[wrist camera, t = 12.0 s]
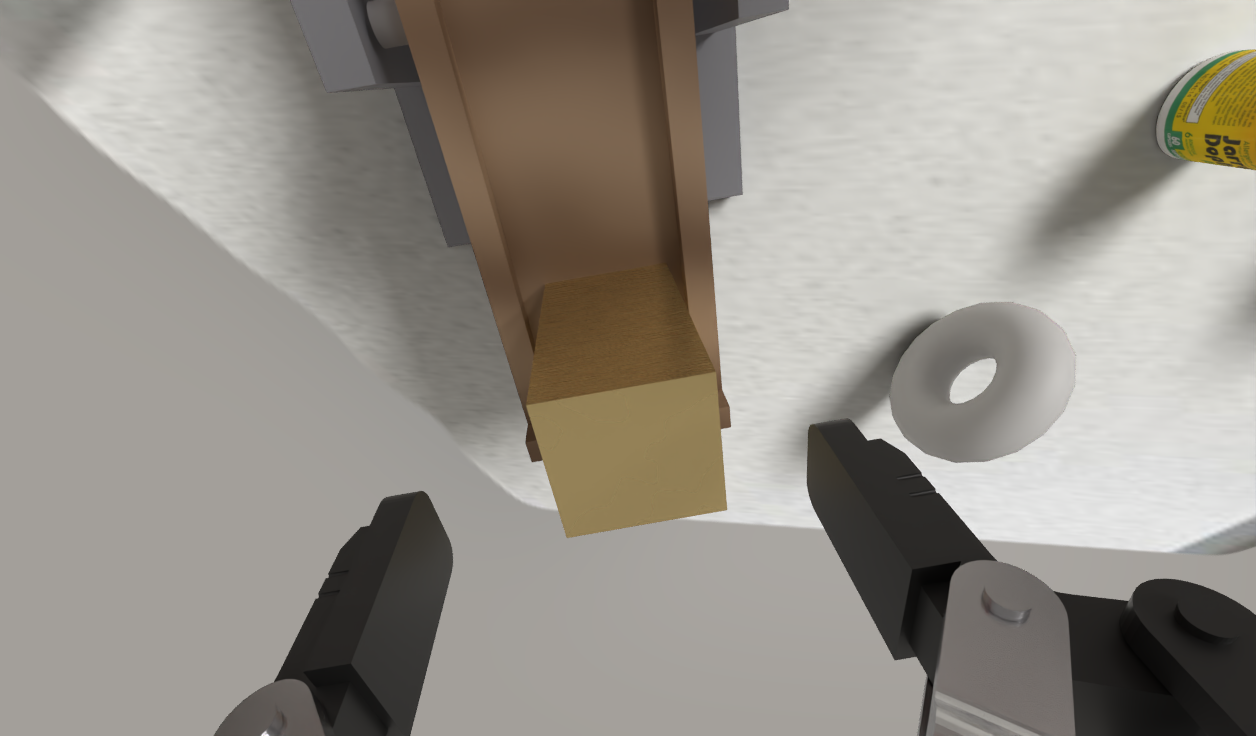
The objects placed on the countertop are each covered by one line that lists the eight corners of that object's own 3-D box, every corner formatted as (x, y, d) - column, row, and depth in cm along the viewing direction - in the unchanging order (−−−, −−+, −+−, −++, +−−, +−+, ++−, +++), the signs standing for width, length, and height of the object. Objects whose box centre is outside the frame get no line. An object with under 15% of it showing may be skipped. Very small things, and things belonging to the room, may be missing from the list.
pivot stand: (300, -219, 20) (42, -491, 10) (713, -295, 20) (839, -641, 10) (452, 240, 29) (389, 323, 19) (736, 189, 29) (815, 247, 19)
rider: (544, 284, 19) (526, 405, 12) (665, 262, 19) (716, 372, 12) (570, 386, 21) (566, 538, 14) (678, 367, 21) (727, 509, 14)
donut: (964, 267, 32) (1106, 338, 23) (998, 293, 33) (1146, 371, 25) (852, 387, 36) (939, 486, 27) (886, 407, 37) (980, 509, 28)
